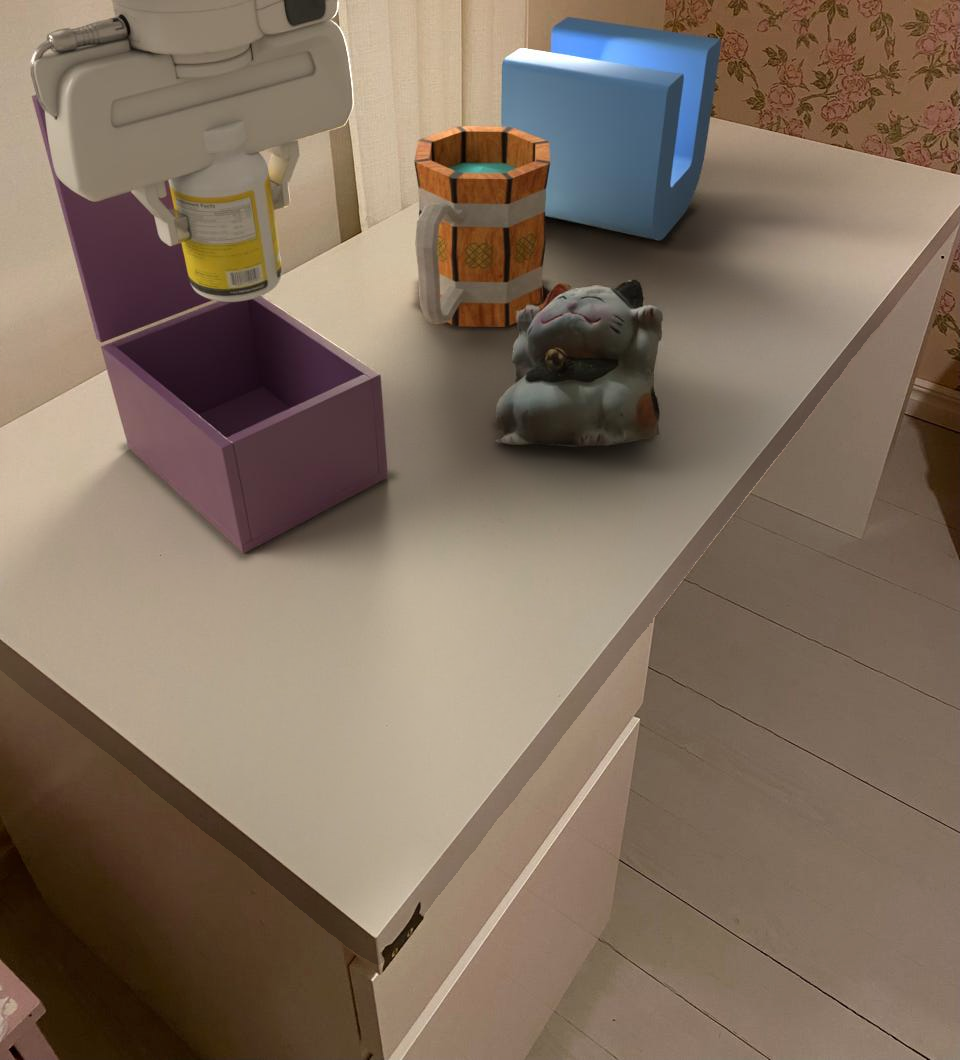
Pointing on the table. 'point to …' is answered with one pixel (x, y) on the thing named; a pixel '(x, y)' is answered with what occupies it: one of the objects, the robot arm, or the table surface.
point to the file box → (249, 416)
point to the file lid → (123, 258)
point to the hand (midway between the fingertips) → (227, 223)
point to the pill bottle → (229, 221)
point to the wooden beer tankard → (480, 224)
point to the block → (616, 120)
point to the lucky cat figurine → (584, 369)
